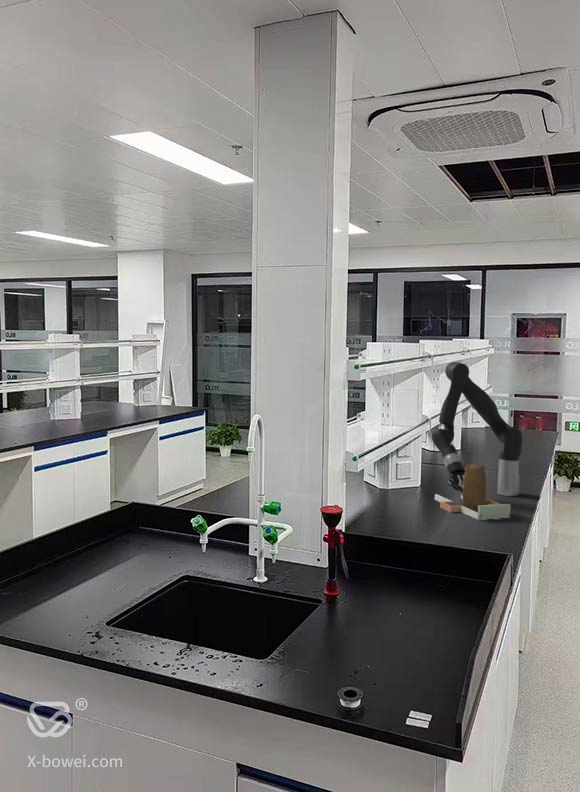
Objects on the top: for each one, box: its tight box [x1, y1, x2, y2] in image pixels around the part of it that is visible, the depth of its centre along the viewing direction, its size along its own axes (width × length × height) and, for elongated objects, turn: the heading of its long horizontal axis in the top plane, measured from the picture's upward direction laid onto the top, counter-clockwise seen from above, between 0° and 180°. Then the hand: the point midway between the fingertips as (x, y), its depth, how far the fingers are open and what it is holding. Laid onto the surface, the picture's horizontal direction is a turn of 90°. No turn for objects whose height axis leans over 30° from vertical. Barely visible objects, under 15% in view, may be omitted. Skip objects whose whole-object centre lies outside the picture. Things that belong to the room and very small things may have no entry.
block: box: [462, 463, 487, 513], centre depth 295 cm, size 11×8×20 cm
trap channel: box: [434, 493, 512, 521], centre depth 297 cm, size 25×36×6 cm
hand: (466, 497), depth 300 cm, fingers closed
